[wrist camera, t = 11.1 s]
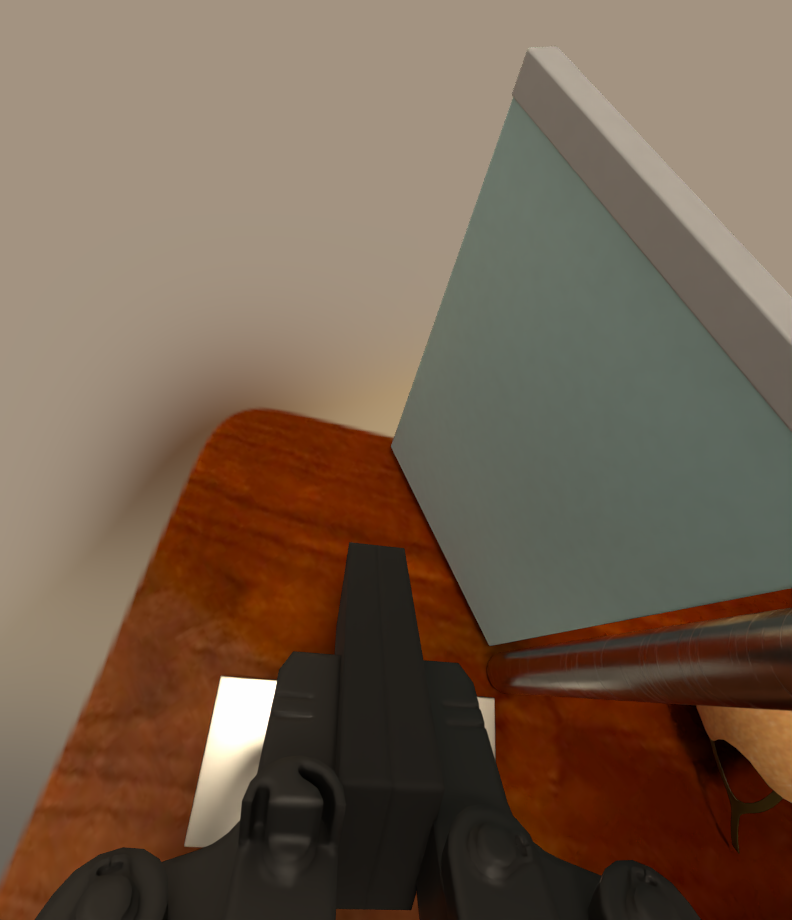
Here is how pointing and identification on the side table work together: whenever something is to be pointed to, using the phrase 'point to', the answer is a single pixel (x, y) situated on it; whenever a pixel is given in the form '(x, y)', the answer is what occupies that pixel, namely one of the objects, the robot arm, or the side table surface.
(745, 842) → the side table surface
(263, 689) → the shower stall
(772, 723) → the helmet
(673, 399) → the shower door
